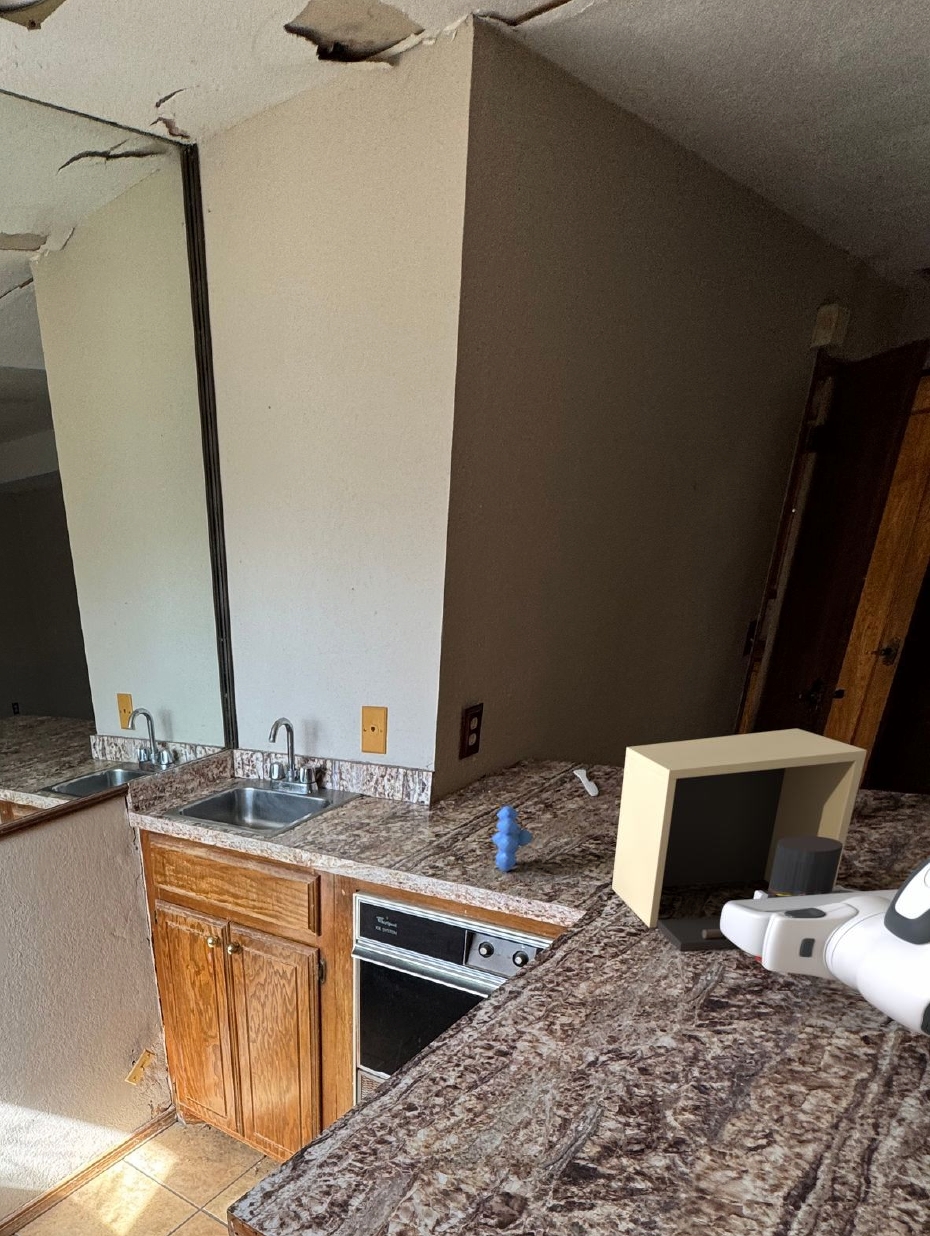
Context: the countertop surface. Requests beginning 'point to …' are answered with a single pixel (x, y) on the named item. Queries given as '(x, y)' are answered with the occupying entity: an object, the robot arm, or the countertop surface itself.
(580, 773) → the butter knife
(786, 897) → the robot arm
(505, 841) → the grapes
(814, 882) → the deodorant
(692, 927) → the cream cabinet
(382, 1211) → the countertop surface
